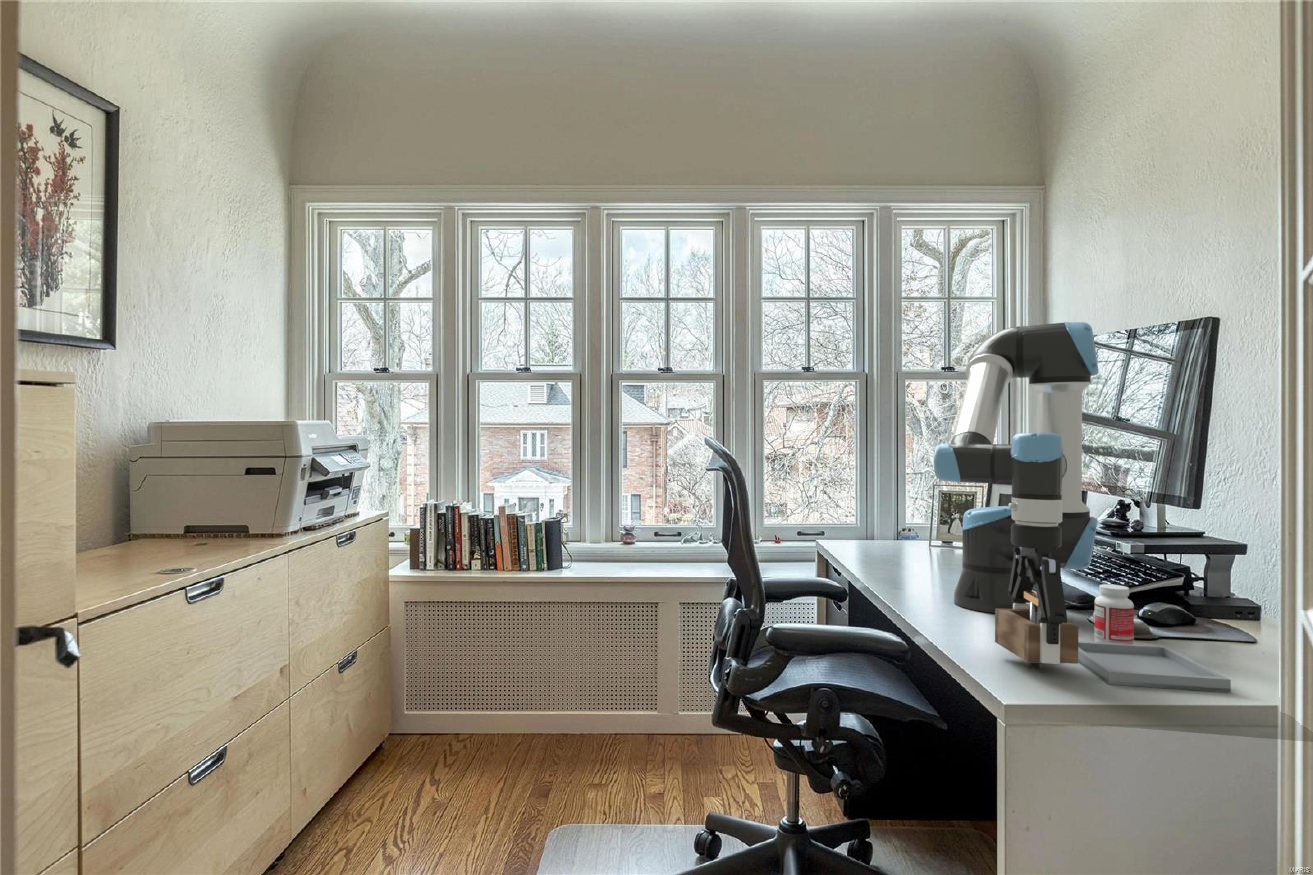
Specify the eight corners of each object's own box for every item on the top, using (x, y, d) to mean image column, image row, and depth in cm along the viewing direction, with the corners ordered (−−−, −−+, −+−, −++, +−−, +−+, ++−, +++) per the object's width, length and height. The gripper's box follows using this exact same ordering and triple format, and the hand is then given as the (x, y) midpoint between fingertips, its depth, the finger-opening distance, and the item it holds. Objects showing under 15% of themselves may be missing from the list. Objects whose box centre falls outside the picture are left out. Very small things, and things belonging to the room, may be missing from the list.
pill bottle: (1139, 646, 125) (1140, 587, 125) (1125, 651, 122) (1125, 591, 122) (1103, 638, 130) (1103, 581, 130) (1088, 642, 127) (1088, 585, 127)
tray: (1062, 651, 122) (1062, 640, 122) (1166, 657, 119) (1166, 646, 119) (1108, 684, 105) (1108, 671, 105) (1230, 692, 102) (1230, 679, 102)
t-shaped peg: (1022, 660, 116) (1023, 590, 116) (1032, 661, 116) (1033, 591, 116) (1037, 672, 110) (1037, 599, 110) (1047, 673, 109) (1048, 599, 109)
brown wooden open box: (994, 642, 118) (995, 608, 118) (1046, 643, 118) (1047, 609, 118) (1028, 662, 107) (1028, 625, 107) (1085, 663, 107) (1085, 626, 107)
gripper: (989, 514, 125) (988, 629, 125) (1040, 531, 102) (1038, 673, 102) (1032, 516, 124) (1031, 632, 124) (1093, 533, 100) (1092, 677, 100)
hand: (1034, 651), depth 113 cm, fingers closed on brown wooden open box, 12 cm apart
